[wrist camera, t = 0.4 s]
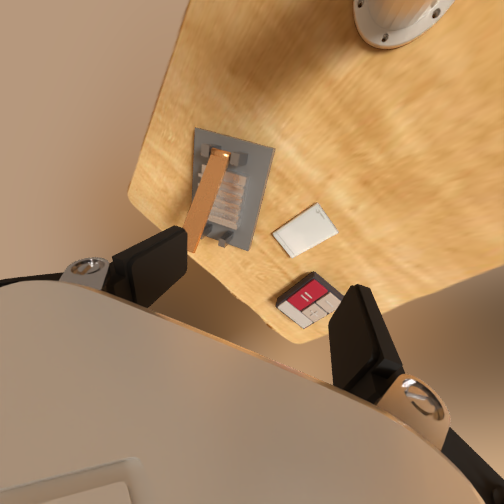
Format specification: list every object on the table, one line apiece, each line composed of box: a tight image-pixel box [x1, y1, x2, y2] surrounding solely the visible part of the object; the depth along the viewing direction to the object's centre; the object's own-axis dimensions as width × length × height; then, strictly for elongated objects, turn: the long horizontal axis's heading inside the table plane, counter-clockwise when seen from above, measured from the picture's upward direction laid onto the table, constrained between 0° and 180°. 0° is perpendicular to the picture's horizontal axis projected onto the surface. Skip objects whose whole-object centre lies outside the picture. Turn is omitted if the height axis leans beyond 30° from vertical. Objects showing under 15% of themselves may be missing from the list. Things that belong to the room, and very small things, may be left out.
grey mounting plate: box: [192, 128, 275, 251], centre depth 44 cm, size 24×17×2 cm
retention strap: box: [183, 148, 231, 253], centre depth 34 cm, size 20×4×2 cm
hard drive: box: [273, 202, 339, 258], centre depth 43 cm, size 2×8×12 cm
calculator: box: [276, 271, 344, 329], centre depth 51 cm, size 11×4×15 cm
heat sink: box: [198, 144, 250, 248], centre depth 41 cm, size 20×10×5 cm, turn 167°
